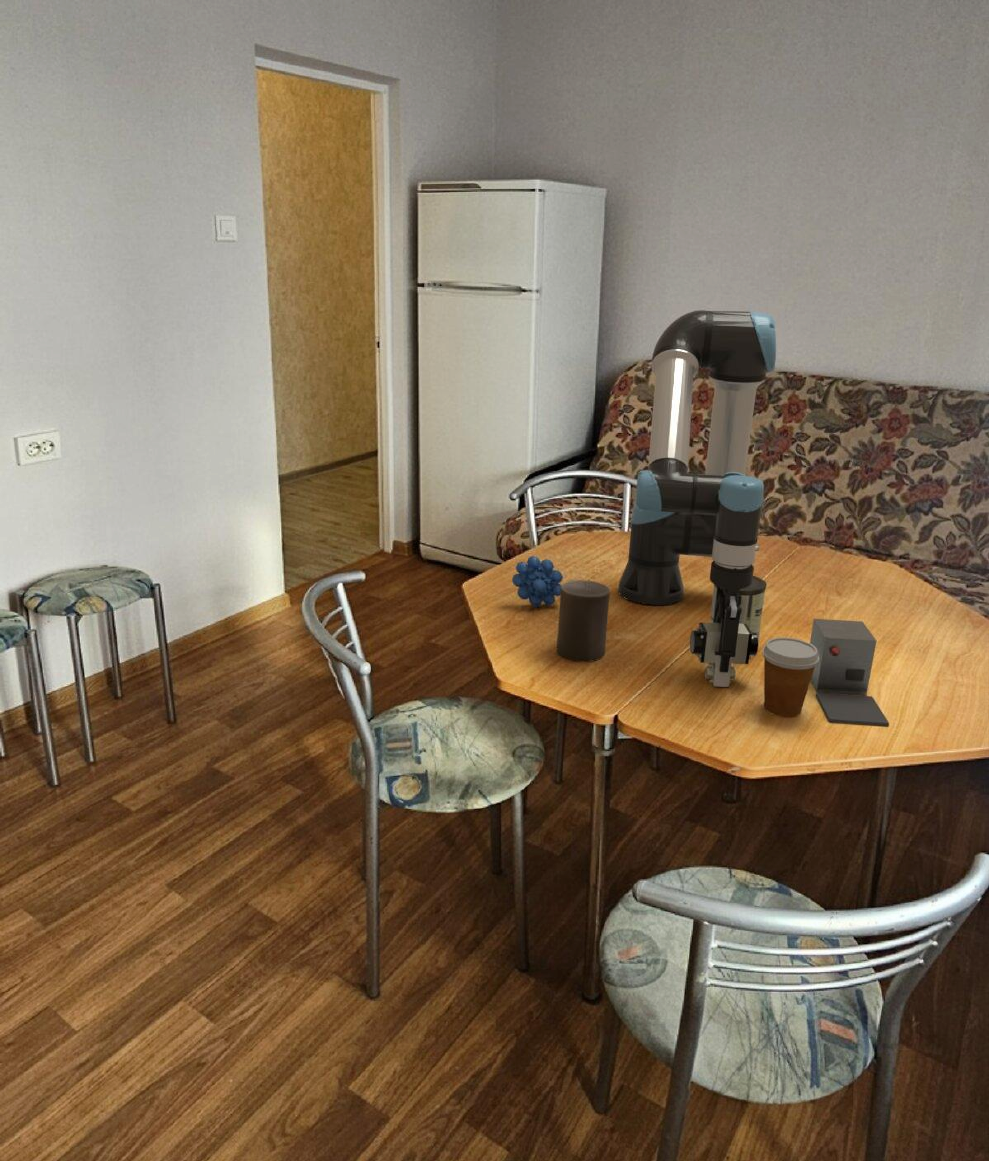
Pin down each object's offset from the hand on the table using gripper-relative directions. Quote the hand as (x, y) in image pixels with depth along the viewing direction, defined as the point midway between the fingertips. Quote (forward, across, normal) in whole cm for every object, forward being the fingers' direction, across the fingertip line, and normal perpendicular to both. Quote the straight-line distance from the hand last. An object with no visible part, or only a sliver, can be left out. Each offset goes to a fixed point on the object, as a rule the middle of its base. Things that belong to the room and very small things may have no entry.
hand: (718, 678), depth 171 cm
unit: (0, +2, -22) cm, 22 cm away
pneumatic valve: (0, 0, 0) cm, 0 cm away
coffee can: (+1, +17, -5) cm, 18 cm away
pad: (0, -9, -22) cm, 24 cm away
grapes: (0, +31, +36) cm, 48 cm away
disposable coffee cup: (+1, -10, -10) cm, 14 cm away
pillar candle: (+1, +9, +26) cm, 28 cm away
